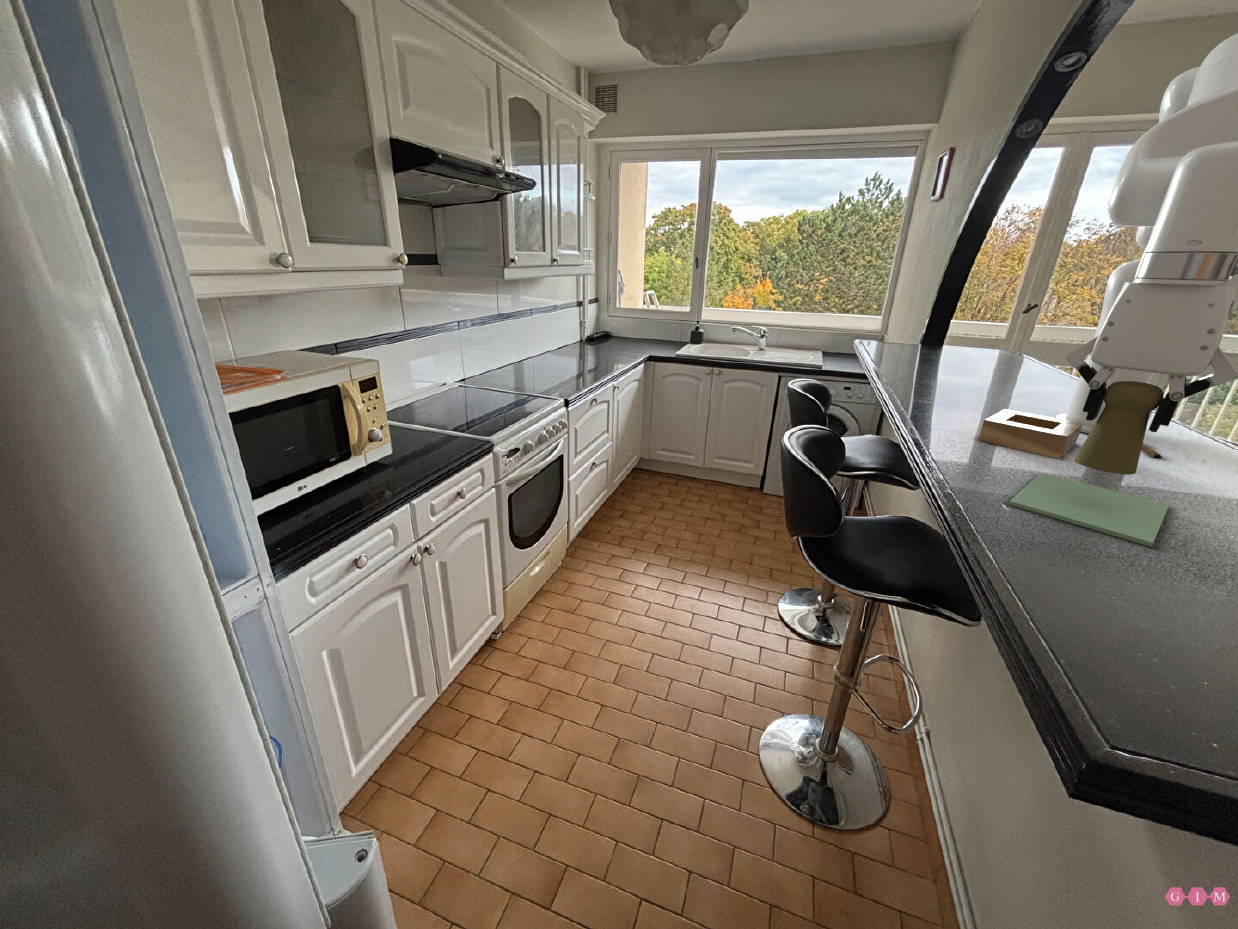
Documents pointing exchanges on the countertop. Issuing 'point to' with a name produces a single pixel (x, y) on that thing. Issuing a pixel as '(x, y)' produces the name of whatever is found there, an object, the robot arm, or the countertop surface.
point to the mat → (1093, 508)
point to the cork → (1120, 428)
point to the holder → (1030, 432)
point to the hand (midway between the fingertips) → (1121, 422)
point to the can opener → (1151, 452)
